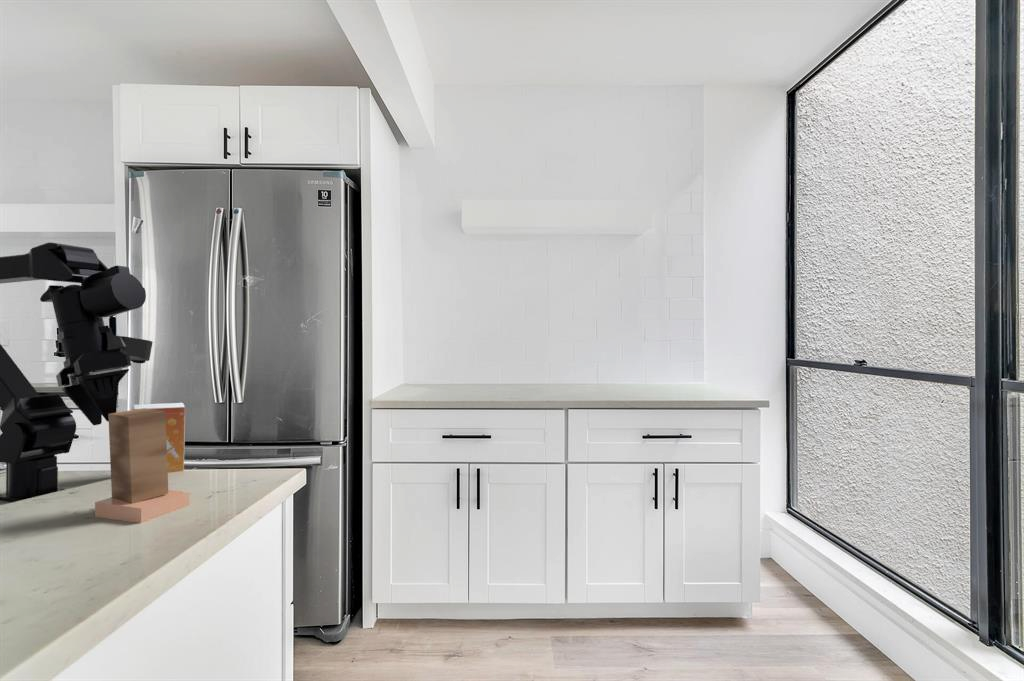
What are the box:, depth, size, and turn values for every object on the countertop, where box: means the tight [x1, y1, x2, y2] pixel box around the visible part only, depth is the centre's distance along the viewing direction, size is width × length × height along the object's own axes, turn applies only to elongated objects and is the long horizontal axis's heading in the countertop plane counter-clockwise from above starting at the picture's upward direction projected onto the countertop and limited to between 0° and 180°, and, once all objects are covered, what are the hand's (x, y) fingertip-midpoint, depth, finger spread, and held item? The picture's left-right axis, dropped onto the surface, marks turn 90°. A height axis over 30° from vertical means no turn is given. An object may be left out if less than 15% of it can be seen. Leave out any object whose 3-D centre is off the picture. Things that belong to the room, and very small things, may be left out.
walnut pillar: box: [108, 408, 169, 504], centre depth 82 cm, size 5×5×12 cm
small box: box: [132, 402, 186, 473], centre depth 105 cm, size 8×6×13 cm
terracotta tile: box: [94, 489, 190, 524], centre depth 82 cm, size 8×8×2 cm
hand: (104, 422), depth 89 cm, fingers open, 9 cm apart
